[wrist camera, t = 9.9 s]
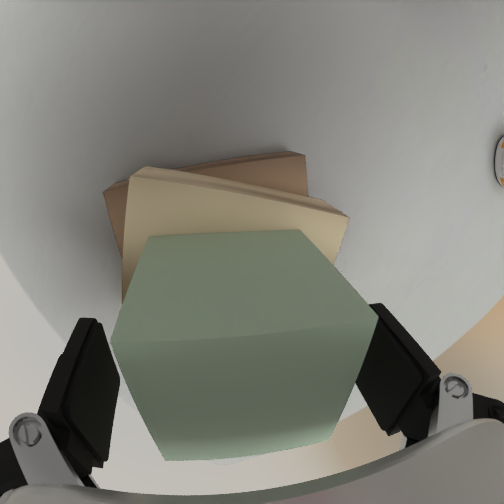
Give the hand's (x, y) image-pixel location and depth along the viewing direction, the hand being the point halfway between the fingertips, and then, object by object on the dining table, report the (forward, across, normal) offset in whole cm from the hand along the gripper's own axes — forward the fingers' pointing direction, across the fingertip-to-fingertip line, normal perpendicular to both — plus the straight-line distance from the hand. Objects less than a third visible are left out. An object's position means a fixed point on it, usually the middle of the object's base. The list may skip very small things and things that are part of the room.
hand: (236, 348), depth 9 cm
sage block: (+3, 0, 0) cm, 3 cm away
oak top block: (+6, 0, 0) cm, 6 cm away
